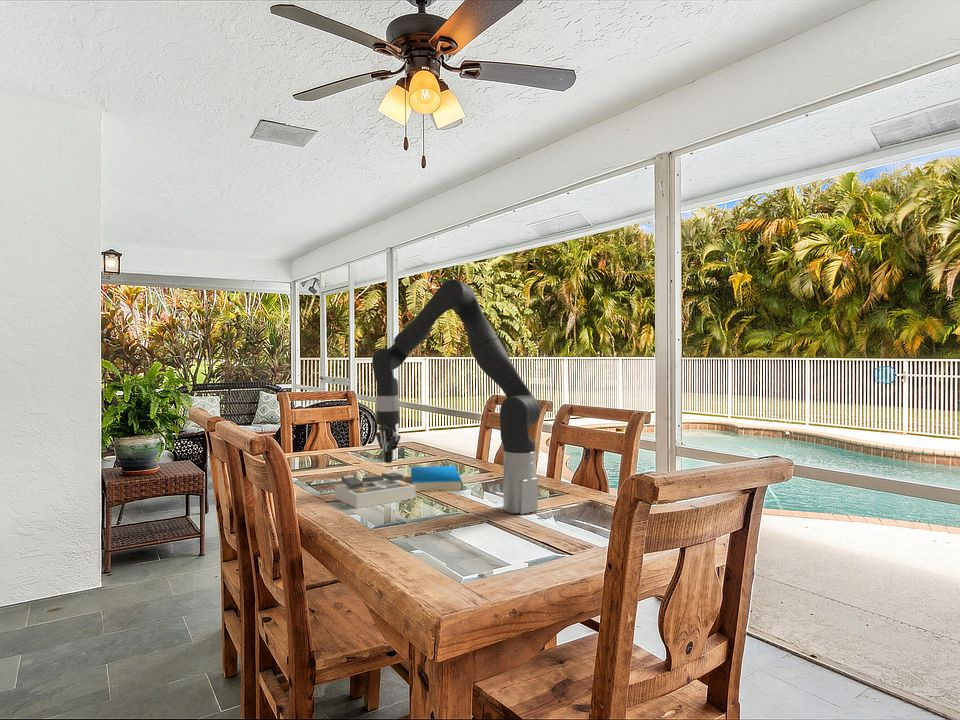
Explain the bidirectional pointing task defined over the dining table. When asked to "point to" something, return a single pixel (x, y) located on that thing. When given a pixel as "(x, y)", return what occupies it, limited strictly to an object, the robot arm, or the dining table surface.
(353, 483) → the rocker
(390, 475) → the rocker
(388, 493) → the switch unit
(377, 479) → the rocker
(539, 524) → the dining table surface
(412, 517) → the dining table surface
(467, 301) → the robot arm
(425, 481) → the book
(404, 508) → the dining table surface
